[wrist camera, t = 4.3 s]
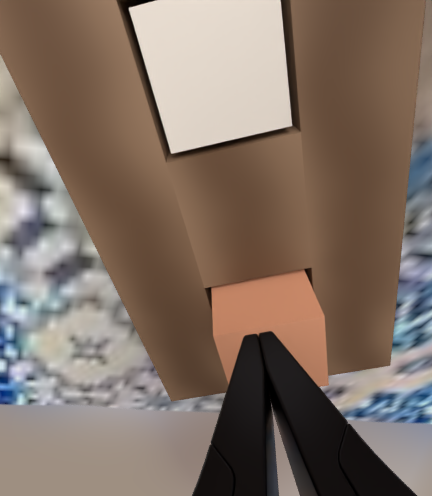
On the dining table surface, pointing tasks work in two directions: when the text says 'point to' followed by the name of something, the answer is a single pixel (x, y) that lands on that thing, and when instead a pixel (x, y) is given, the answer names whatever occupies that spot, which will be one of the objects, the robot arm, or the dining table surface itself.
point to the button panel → (233, 173)
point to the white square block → (215, 68)
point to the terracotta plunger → (272, 319)
